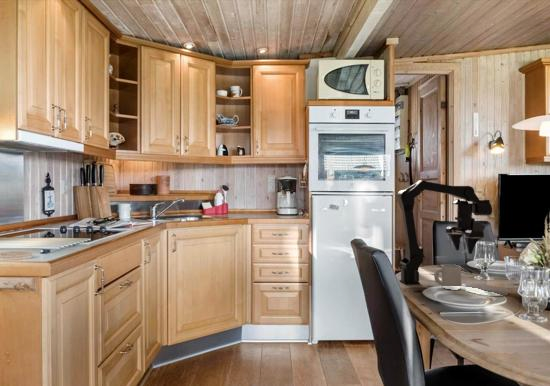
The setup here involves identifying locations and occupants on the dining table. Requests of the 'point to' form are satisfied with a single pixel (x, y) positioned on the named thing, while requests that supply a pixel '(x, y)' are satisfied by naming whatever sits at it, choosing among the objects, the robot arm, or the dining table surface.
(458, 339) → the dining table surface
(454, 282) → the cup
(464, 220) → the robot arm
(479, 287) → the saucer
